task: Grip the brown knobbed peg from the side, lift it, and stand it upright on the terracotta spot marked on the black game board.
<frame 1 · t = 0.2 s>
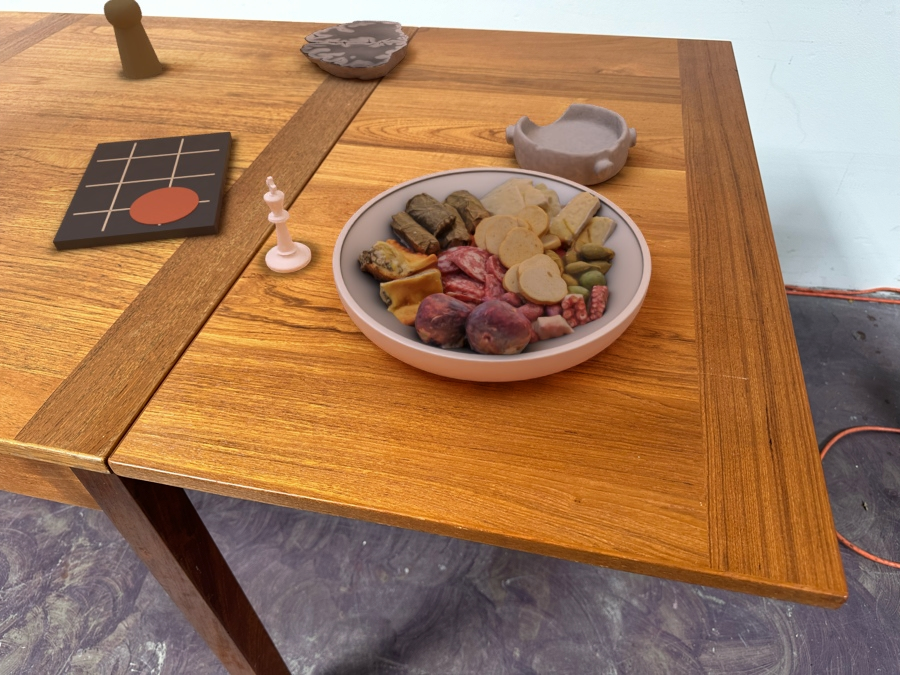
chess piece: (289, 262, 71), on the table
brown knobbed peg: (144, 74, 106), on the table
dish: (571, 164, 84), on the table
brain slice: (356, 62, 108), on the table
bowl: (489, 288, 67), on the table
board: (155, 191, 81), on the table
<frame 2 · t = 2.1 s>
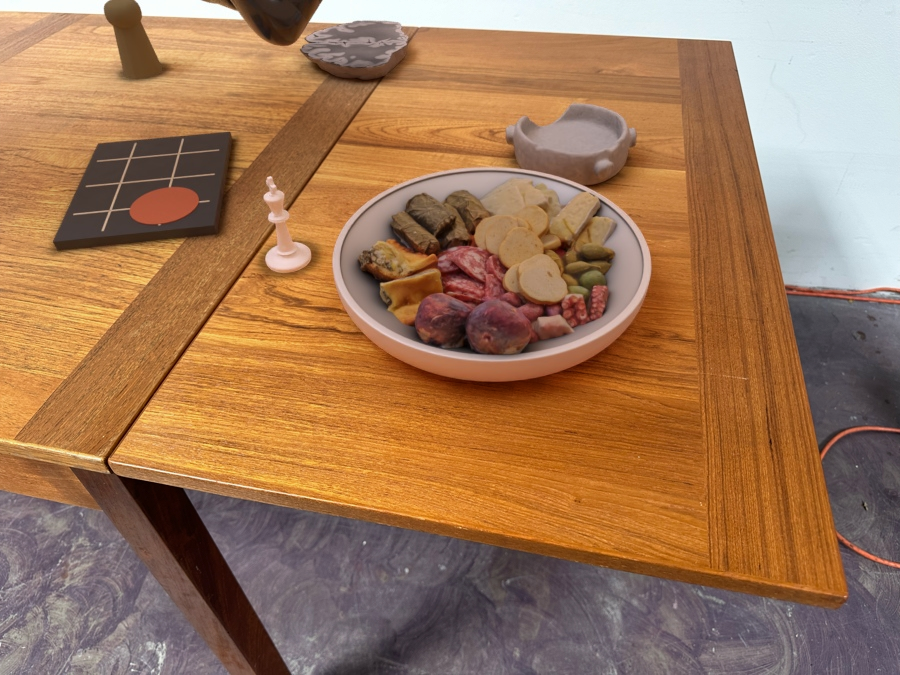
nothing on the table moved.
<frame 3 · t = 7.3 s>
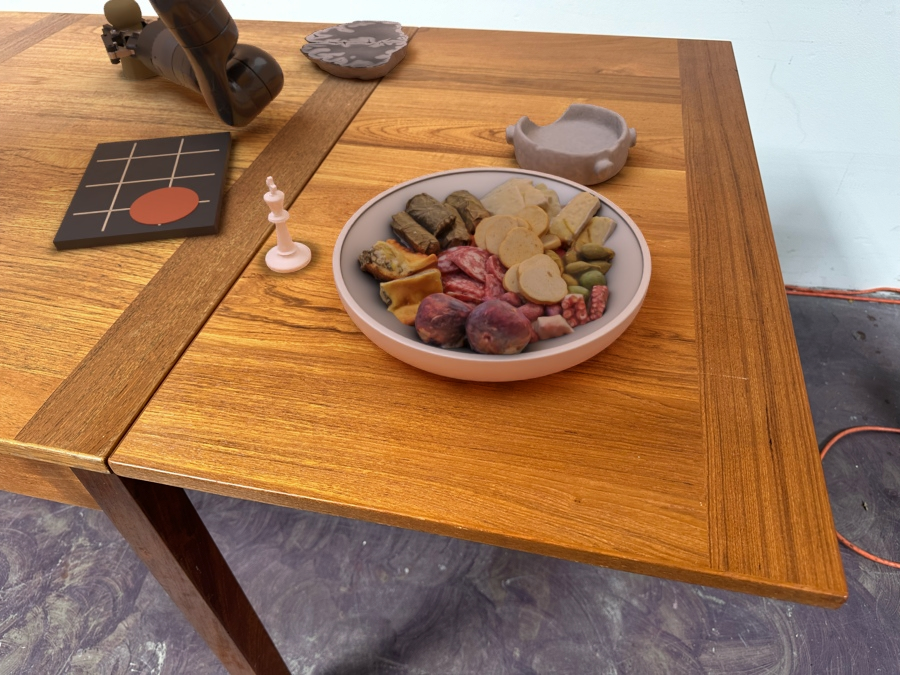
hand: (120, 27, 103), 6 cm above the table, tool horizontal, fingers closed on brown knobbed peg, 4 cm apart
brown knobbed peg: (144, 74, 106), on the table, touching gripper
everything else where it was.
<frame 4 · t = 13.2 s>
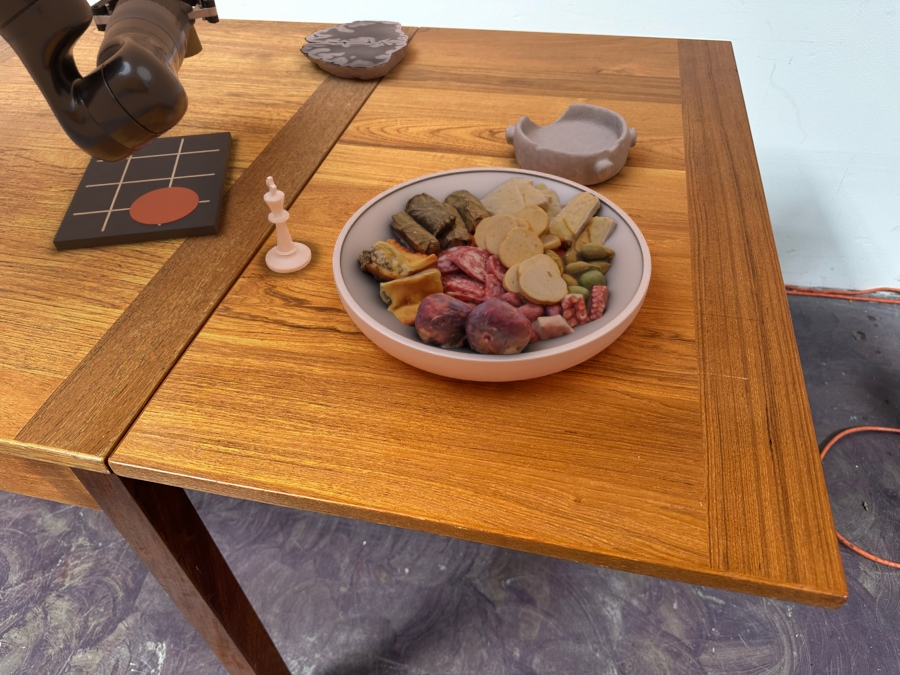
brown knobbed peg: (178, 52, 84), point 11 cm above the table, touching gripper
everything else where it was.
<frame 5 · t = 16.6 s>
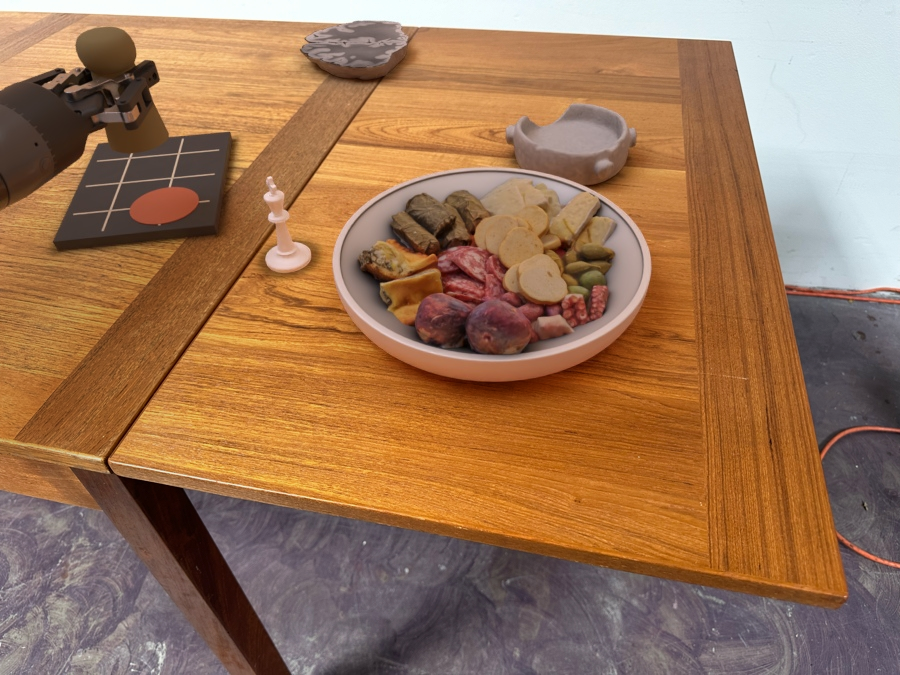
hand: (133, 67, 67), 16 cm above the table, tool horizontal, fingers closed on brown knobbed peg, 4 cm apart
brown knobbed peg: (139, 141, 70), point 10 cm above the table, touching gripper
everything else where it was.
when the fingers open (8 cm above the table, at t = 19.2 s): brown knobbed peg stays where it is, resting on board.
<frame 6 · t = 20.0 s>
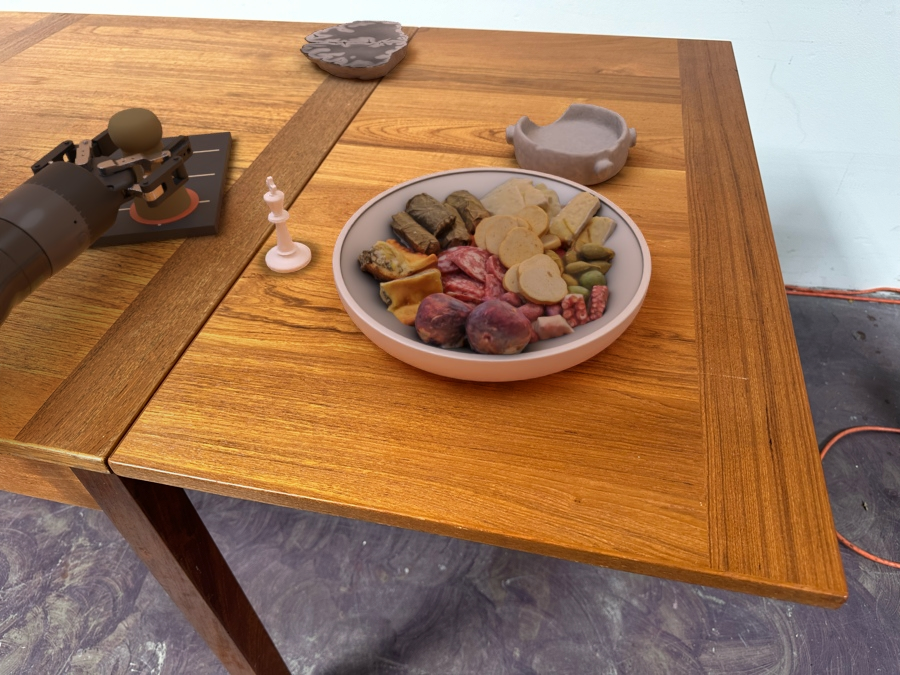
hand: (153, 138, 72), 9 cm above the table, tool horizontal, fingers open, 8 cm apart
brown knobbed peg: (164, 206, 76), point 1 cm above the table, touching board
everything else where it was.
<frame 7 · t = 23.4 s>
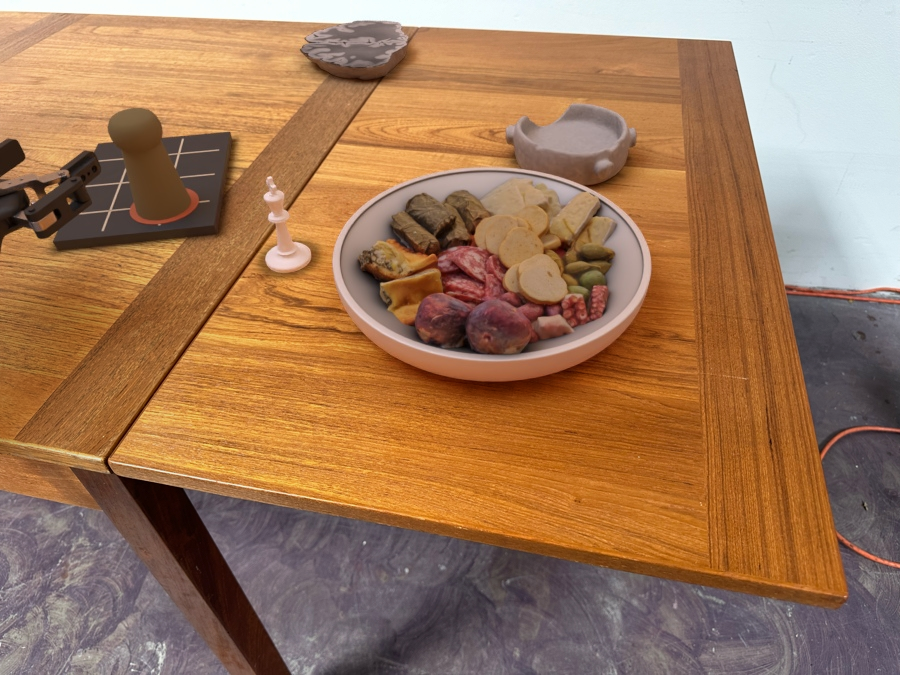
hand: (56, 153, 62), 13 cm above the table, tool horizontal, fingers open, 8 cm apart
nothing on the table moved.
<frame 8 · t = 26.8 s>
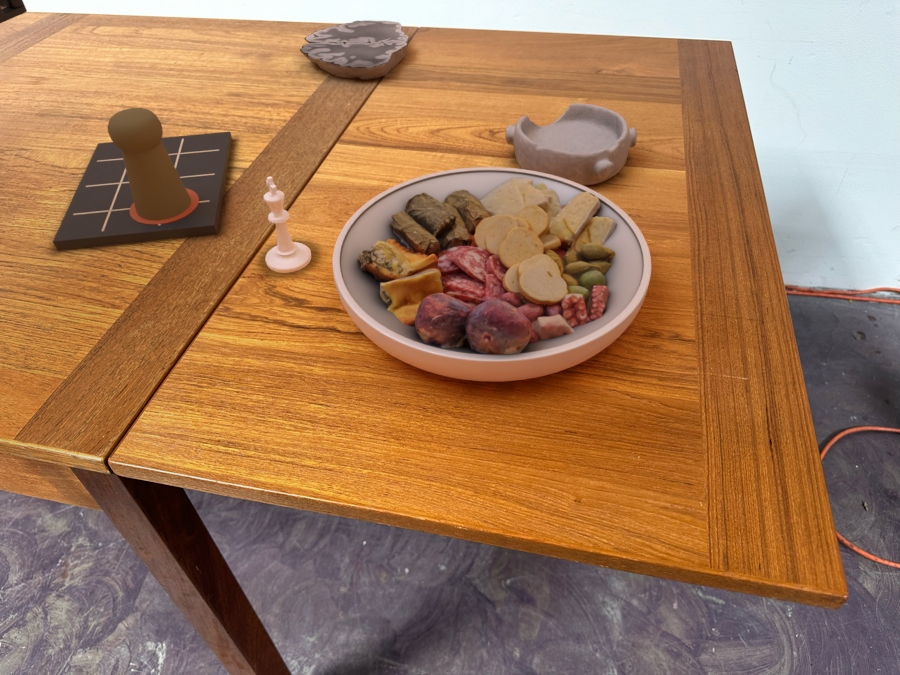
nothing on the table moved.
at the end: brown knobbed peg inside the target area on the board (0.1 cm from its centre), point 1.4 cm above the board's base; brown knobbed peg tilted 0°; the gripper is holding nothing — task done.
